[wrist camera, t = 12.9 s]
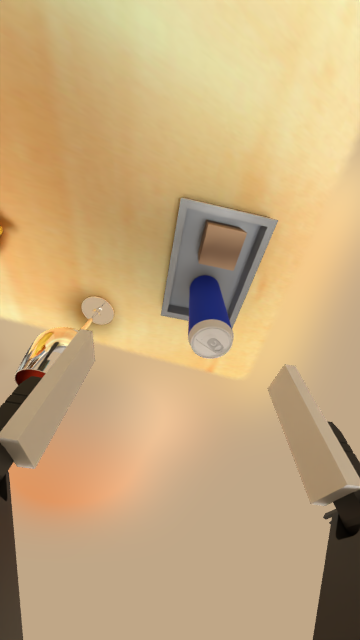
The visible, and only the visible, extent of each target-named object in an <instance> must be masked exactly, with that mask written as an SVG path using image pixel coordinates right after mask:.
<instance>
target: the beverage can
mask: <svg viewBox="0 0 360 640" xmlns="http://www.w3.org/2000/svg"><path fill="white" fill-rule="evenodd" d="M233 337H234V336H233V331H232V327H231V324H230V321H229V317H228V314H227V310H226V307H225V303H224V300H223V296H222V293H221V290H220V286H219V283H218V281H217V280H216V279H215V278H213V277H211V276H207V275H203V276H199V277H197V278H196V279H194V280H193V282H192V283H191V285H190V291H189V329H188V340H189V343H190V345H191V348H192V350H193V351H194V352H195V353H196V354H197V355H198V356H200V357H203V358H218V357H221V356H223V355H224V354H226V353H227V352H228V351H229V350H230V348H231V346H232V342H233Z"/></svg>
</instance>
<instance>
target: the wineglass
mask: <svg viewBox="0 0 360 640" xmlns="http://www.w3.org/2000/svg"><path fill="white" fill-rule="evenodd" d="M81 308H82V312H83V314H84V316H85V317H86V318H87V319H88V321H87V322H86V323H85V324H84V325H83V327H82V328H81V329H83V330H86V329H87V328H88V327H89V325H90V324H91V323H92V322H93V323H96V324H107V323H109V322H111V321H112V319H113V317H114V309H113V307H112V306H111V304H110V303H109V302H108V301H107V300H105V299H103V298H101V297H97V296H91V297H88V298H86V299H85V300H84V301H83V303H82V306H81ZM78 332H79V330H77V329H74V328H69V327H57V328H52V329H49V330H47V331H45V332H43V333H41V334H40V335H39V336H38V337H37V338H36V339H35V340H34V342H33V343H32V345H31V346H30V348H29V349H28V351H27V353H26V355H25V356H24V358H23V360H22V362H21V364H20V366H19V368H18V370H17V371H16V374H15V376H14V379H15V382H16V384H17V385H18V386H19V385H20V383H22V382H23V381H25V380H26V379H28V378H29V377H31V376H35V377H42V378H43V377H44V375H45V374H46V373H47V371H48V370H49V369H50V368H51V366H52V365H53V364H54V362H55V361H56V360H57V359H58V357H59V356H60V355H61V353H62V352H63V351H64V350H65V348H66V347H67V346H68V344H69V343H70V342H71V341H72V339H73V338H74V337H75V335H76V334H77V333H78Z"/></svg>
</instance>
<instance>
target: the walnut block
mask: <svg viewBox="0 0 360 640" xmlns="http://www.w3.org/2000/svg"><path fill="white" fill-rule="evenodd" d="M246 235H247V232H245V231H244V230H243V229H241V228H240V227H237V226H233V225H228V224H224V223H220V222H215V221H211V220H206V222H205V226H204V230H203V234H202V239H201V243H200V247H199V251H198V262H199V264H204V265H208V266H213V267H218V268H222V269H227V270H232V271H234V268H235V266H236V263H237V260H238V257H239V255H240V252H241V249H242V246H243V243H244V241H245V238H246Z"/></svg>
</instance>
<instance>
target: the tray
mask: <svg viewBox="0 0 360 640" xmlns="http://www.w3.org/2000/svg"><path fill="white" fill-rule="evenodd" d="M206 220H211V221H215V222H220V223H224V224H228V225H233V226H237V227H240V228H241V229H243V230H244V231H245V232H247V235H246V238H245V241H244V243H243V246H242V249H241V252H240V255H239V257H238V260H237V263H236V266H235V268H234V271H232V270H227V269H222V268H218V267H213V266H208V265H204V264H199V262H198V251H199V247H200V243H201V239H202V234H203V230H204V226H205V222H206ZM277 222H278V220H275V219H272V218H269V217H265V216H261V215H256V214H252V213H248V212H244V211H239V210H235V209H231V208H227V207H222V206H218V205H214V204H210V203H205V202H201V201H197V200H193V199H188V198H184V197H181V201H180V206H179V212H178V218H177V224H176V230H175V236H174V241H173V247H172V253H171V259H170V265H169V271H168V277H167V282H166V288H165V294H164V300H163V306H162V312H161V316H167V317H172V318H177V319H182V320H187V321H189V291H190V285H191V283H192V282H193V280H194V279H196V278H197V277H199V276H203V275H207V276H211V277H213V278H215V279H216V280H217V281H218V283H219V286H220V290H221V293H222V296H223V300H224V303H225V307H226V310H227V314H228V317H229V321H230V324H231V327H232V328H233V325H234V323H235V321H236V318H237V316H238V314H239V311H240V309H241V307H242V304H243V302H244V300H245V297H246V295H247V292H248V290H249V288H250V285H251V283H252V281H253V278H254V276H255V274H256V271H257V269H258V267H259V264H260V262H261V260H262V257H263V255H264V253H265V250H266V248H267V245H268V243H269V241H270V238H271V236H272V234H273V231H274V229H275V227H276V224H277Z"/></svg>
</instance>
